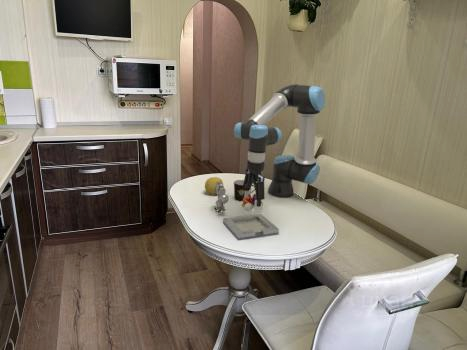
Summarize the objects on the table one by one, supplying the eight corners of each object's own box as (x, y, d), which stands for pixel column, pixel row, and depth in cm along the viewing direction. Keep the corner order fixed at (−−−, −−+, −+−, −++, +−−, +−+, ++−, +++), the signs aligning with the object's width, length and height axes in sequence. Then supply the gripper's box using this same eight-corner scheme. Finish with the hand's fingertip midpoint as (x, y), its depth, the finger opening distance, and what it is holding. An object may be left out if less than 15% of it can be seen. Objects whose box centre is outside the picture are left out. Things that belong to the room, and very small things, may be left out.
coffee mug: (230, 200, 195) (231, 183, 192) (236, 195, 203) (237, 179, 200) (249, 204, 191) (251, 187, 188) (255, 199, 199) (256, 182, 196)
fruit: (225, 193, 205) (226, 176, 202) (215, 198, 197) (216, 181, 194) (211, 189, 210) (212, 173, 207) (200, 193, 202) (201, 177, 199)
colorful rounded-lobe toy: (240, 205, 163) (241, 190, 161) (261, 205, 164) (262, 191, 162) (242, 212, 155) (243, 197, 153) (264, 212, 156) (265, 197, 154)
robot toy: (229, 217, 173) (231, 188, 169) (217, 217, 172) (219, 188, 168) (223, 205, 187) (225, 178, 183) (212, 205, 186) (213, 179, 181)
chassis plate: (260, 218, 175) (260, 213, 174) (278, 234, 159) (279, 229, 158) (222, 222, 167) (223, 217, 166) (238, 240, 151) (238, 235, 150)
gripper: (237, 154, 161) (234, 200, 168) (260, 168, 142) (255, 219, 148) (252, 154, 164) (248, 198, 171) (276, 167, 145) (271, 217, 151)
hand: (251, 208), depth 160 cm, fingers closed on colorful rounded-lobe toy, 10 cm apart
